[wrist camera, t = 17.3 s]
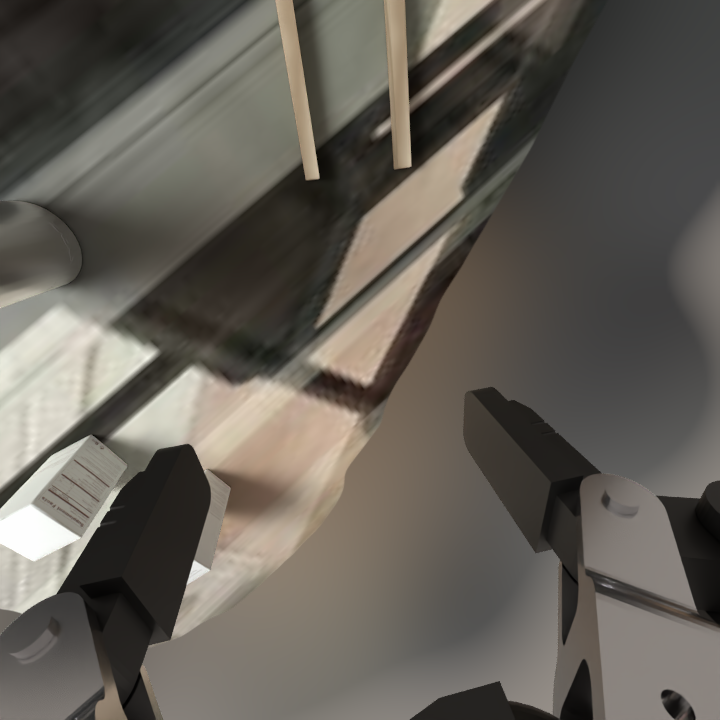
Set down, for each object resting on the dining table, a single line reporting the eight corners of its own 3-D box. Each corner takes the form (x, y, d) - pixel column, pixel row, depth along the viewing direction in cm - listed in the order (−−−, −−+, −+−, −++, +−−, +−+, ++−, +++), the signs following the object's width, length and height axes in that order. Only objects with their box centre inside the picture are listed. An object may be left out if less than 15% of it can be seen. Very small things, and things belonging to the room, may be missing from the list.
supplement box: (91, 484, 52) (32, 564, 40) (50, 454, 48) (-26, 531, 37) (130, 464, 51) (82, 539, 40) (92, 432, 48) (28, 504, 37)
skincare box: (196, 509, 57) (164, 602, 44) (168, 490, 55) (126, 584, 41) (233, 485, 56) (212, 573, 43) (207, 465, 53) (176, 552, 40)
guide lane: (305, 180, 38) (306, 179, 34) (239, -211, 26) (229, -277, 22) (406, 167, 39) (416, 164, 35) (389, -215, 27) (402, -278, 23)
